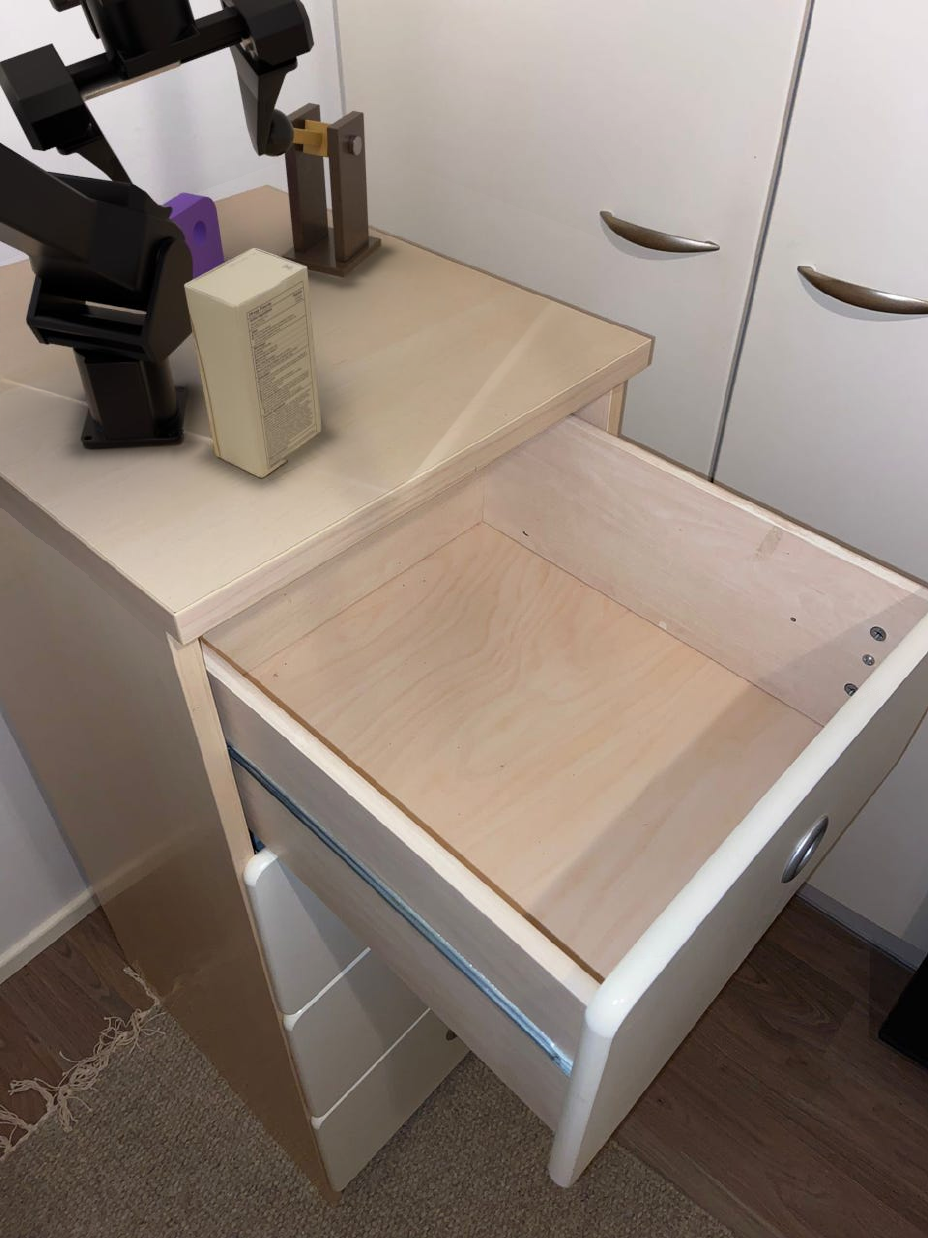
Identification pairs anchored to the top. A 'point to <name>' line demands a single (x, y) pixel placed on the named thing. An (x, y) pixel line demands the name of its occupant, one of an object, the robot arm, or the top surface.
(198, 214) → the bracket
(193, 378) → the top surface
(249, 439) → the cosmetic box
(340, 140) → the lock bracket
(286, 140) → the lock lever
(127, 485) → the top surface
